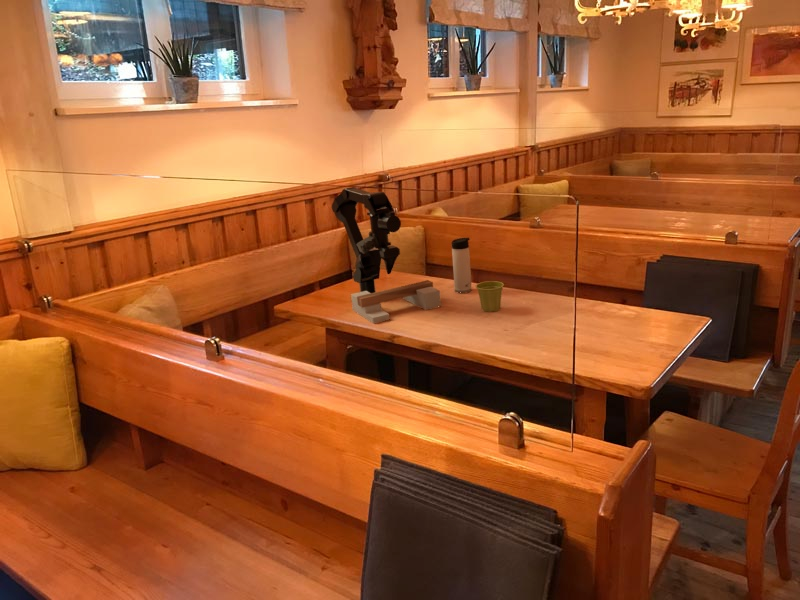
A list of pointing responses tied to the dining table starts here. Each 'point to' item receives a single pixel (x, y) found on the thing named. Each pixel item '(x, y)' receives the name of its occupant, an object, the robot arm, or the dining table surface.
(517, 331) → the dining table surface
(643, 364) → the dining table surface
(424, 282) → the walnut bar
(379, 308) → the notch rack
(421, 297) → the notch rack
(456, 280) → the travel mug
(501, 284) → the plant pot
